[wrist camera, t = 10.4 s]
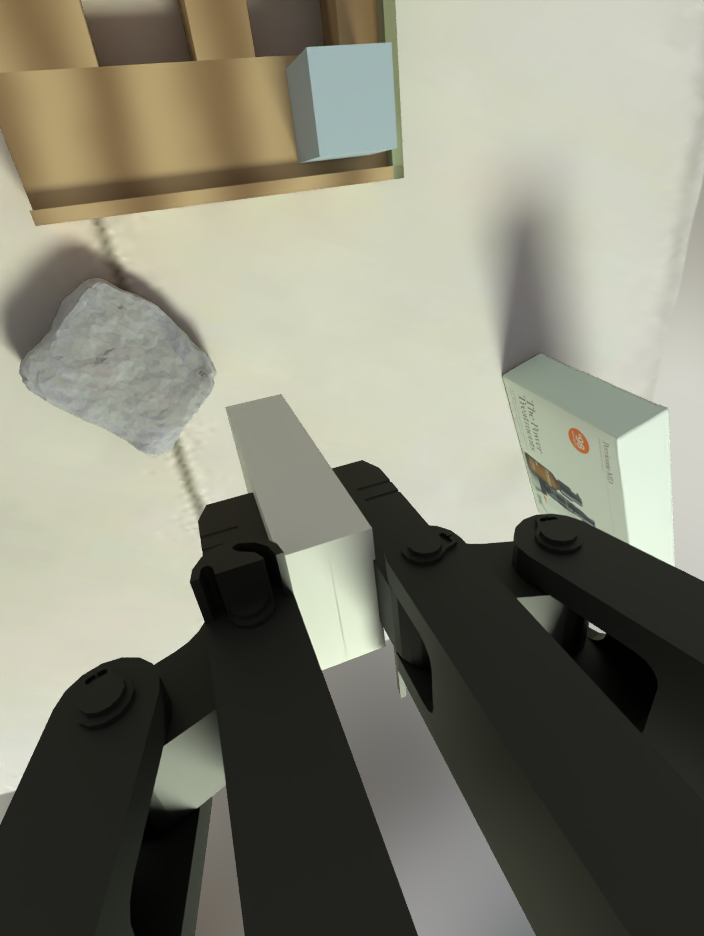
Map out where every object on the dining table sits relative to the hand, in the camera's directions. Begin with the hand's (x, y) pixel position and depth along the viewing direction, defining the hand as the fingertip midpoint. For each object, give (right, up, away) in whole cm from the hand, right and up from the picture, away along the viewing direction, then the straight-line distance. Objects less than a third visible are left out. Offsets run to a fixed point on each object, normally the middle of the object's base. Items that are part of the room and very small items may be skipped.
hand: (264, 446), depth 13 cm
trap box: (-7, +25, +18) cm, 31 cm away
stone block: (-15, +8, +25) cm, 30 cm away
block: (+1, +23, +19) cm, 30 cm away
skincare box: (+24, +3, +43) cm, 49 cm away
